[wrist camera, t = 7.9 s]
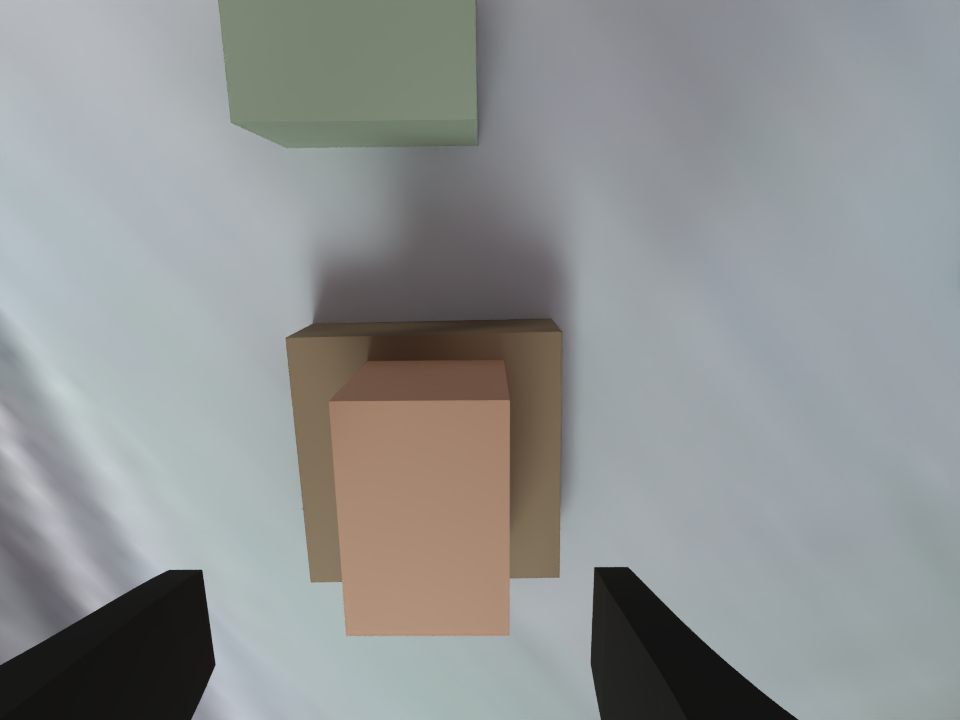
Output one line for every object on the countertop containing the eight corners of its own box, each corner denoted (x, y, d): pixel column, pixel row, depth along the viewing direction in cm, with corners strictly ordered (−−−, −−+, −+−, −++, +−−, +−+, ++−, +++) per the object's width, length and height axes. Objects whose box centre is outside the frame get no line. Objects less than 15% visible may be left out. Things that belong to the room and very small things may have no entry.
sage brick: (476, 4, 16) (474, -70, 12) (478, 146, 17) (476, 119, 13) (275, 7, 16) (211, -66, 12) (287, 148, 17) (231, 122, 13)
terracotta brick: (503, 545, 17) (509, 635, 13) (377, 545, 17) (346, 635, 13) (504, 360, 16) (509, 400, 12) (366, 361, 16) (328, 401, 12)
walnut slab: (549, 316, 19) (561, 331, 16) (548, 528, 20) (559, 577, 18) (315, 322, 19) (285, 337, 16) (334, 532, 20) (310, 582, 18)
